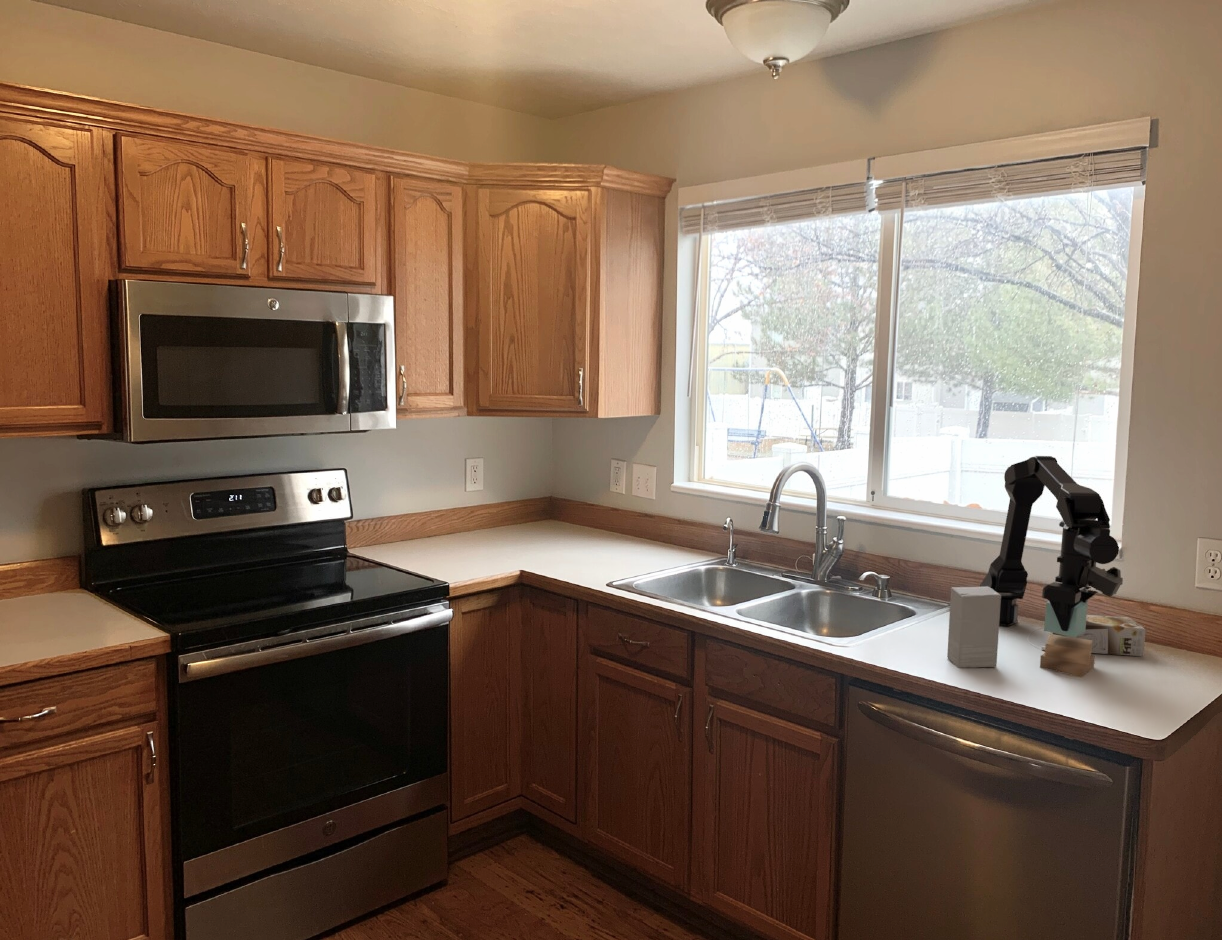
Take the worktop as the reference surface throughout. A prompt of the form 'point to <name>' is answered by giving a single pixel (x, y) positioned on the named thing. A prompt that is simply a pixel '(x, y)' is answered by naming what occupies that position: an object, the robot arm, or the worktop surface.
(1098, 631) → the coffee box
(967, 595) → the skincare box
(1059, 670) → the tower base
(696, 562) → the worktop surface
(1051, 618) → the teal cube
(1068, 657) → the tower top
